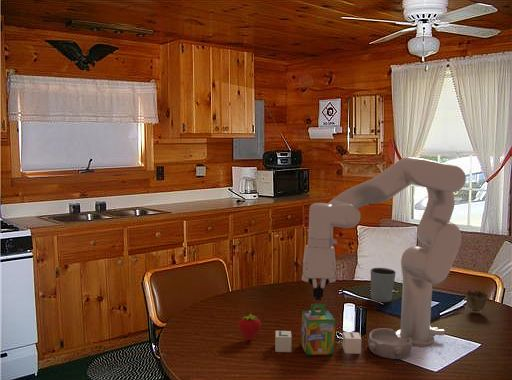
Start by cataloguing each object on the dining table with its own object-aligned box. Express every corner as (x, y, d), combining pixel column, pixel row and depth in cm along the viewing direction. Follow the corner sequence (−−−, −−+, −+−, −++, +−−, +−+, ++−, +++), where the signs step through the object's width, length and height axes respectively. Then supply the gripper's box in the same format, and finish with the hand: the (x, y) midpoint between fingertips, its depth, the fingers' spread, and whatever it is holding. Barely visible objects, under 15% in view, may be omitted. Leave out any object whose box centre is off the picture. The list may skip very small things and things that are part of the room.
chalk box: (306, 356, 162) (307, 310, 160) (300, 343, 171) (301, 300, 169) (335, 355, 163) (336, 309, 161) (327, 342, 172) (329, 299, 170)
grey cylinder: (364, 296, 220) (365, 268, 218) (383, 293, 224) (384, 266, 222) (379, 304, 211) (381, 275, 209) (399, 300, 215) (400, 272, 213)
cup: (482, 310, 205) (483, 290, 204) (488, 316, 198) (490, 296, 197) (462, 309, 206) (464, 289, 205) (468, 316, 199) (469, 295, 198)
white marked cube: (290, 345, 170) (290, 330, 169) (291, 352, 165) (291, 336, 164) (275, 345, 170) (275, 330, 169) (275, 352, 165) (275, 336, 164)
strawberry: (237, 337, 176) (237, 308, 175) (259, 335, 177) (259, 307, 176) (239, 344, 170) (239, 315, 169) (262, 343, 171) (262, 313, 170)
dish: (379, 338, 177) (379, 324, 176) (418, 350, 168) (419, 335, 167) (358, 352, 166) (359, 337, 165) (399, 365, 157) (400, 349, 156)
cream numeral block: (357, 347, 169) (358, 332, 169) (360, 353, 165) (361, 338, 164) (342, 346, 170) (343, 331, 169) (344, 353, 165) (345, 338, 164)
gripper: (342, 240, 166) (339, 296, 169) (295, 239, 167) (293, 294, 169) (345, 246, 159) (343, 303, 161) (297, 244, 159) (294, 302, 161)
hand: (317, 299), depth 165 cm, fingers closed
